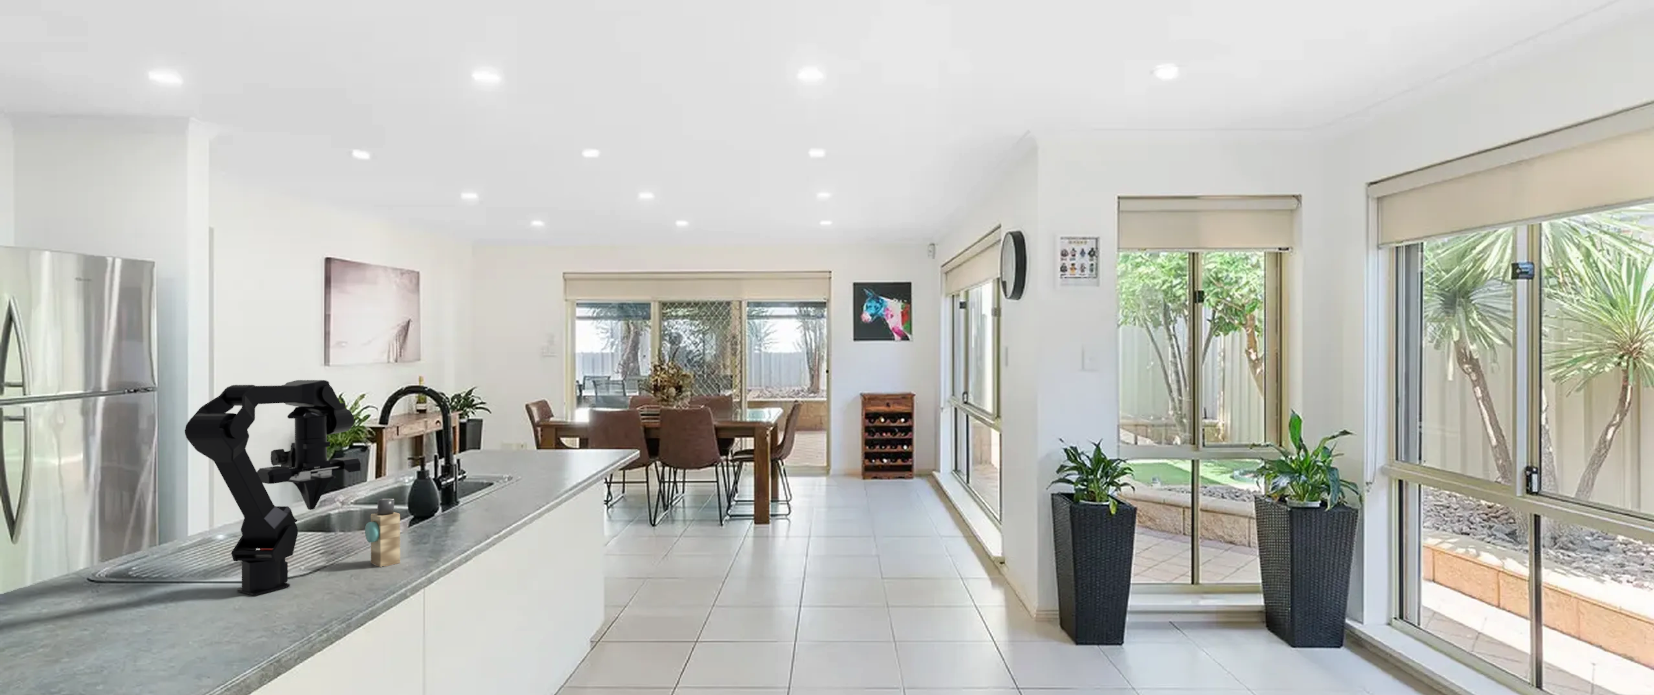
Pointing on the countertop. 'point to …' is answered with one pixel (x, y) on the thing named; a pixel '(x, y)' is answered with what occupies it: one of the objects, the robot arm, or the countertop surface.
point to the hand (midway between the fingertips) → (311, 509)
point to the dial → (385, 506)
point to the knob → (372, 532)
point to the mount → (386, 540)
